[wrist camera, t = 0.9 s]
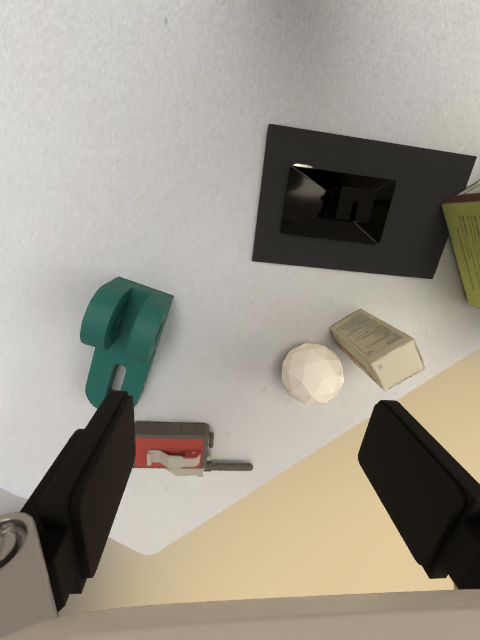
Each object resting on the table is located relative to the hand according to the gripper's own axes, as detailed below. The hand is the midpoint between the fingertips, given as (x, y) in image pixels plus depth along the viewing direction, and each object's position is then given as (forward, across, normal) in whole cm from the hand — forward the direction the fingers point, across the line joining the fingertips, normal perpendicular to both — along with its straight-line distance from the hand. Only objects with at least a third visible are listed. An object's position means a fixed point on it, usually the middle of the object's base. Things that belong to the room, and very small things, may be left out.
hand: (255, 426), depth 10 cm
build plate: (+24, -12, -10) cm, 29 cm away
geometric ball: (+24, -11, +10) cm, 29 cm away
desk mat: (+24, -14, -10) cm, 30 cm away
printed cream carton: (+25, -17, +5) cm, 31 cm away
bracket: (+24, +13, +10) cm, 29 cm away
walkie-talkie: (+24, +4, +26) cm, 36 cm away
